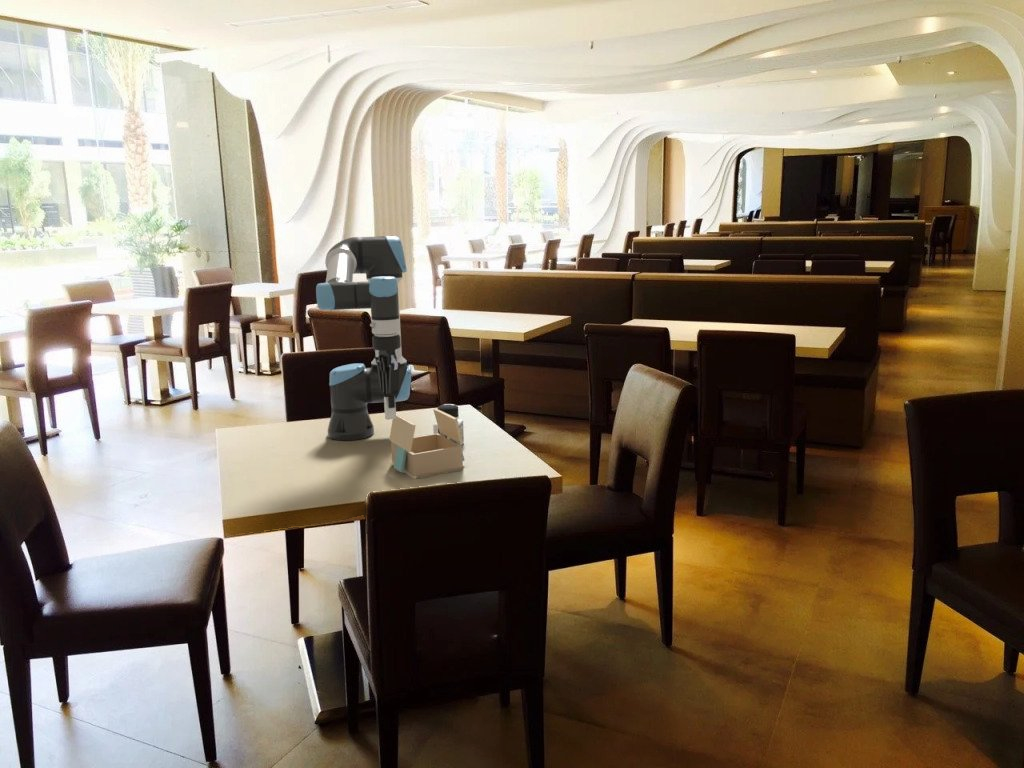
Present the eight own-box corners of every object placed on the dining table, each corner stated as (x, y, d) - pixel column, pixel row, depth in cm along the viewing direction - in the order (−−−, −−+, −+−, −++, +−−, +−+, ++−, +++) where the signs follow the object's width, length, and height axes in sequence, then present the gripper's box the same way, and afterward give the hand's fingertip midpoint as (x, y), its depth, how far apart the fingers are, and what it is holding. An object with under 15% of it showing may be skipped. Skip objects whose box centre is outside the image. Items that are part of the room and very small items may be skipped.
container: (457, 449, 253) (456, 408, 251) (433, 448, 255) (432, 408, 252) (464, 442, 261) (462, 402, 258) (440, 441, 262) (439, 402, 260)
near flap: (387, 461, 238) (385, 461, 238) (396, 414, 237) (393, 414, 237) (406, 474, 226) (404, 474, 226) (415, 425, 225) (412, 424, 224)
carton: (392, 463, 240) (390, 440, 239) (438, 455, 247) (437, 433, 246) (414, 479, 226) (412, 454, 225) (462, 469, 233) (462, 446, 232)
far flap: (433, 409, 243) (435, 408, 243) (445, 451, 247) (447, 450, 247) (454, 419, 230) (456, 418, 231) (466, 463, 235) (468, 462, 235)
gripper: (364, 332, 225) (369, 415, 230) (381, 338, 214) (386, 425, 219) (390, 329, 229) (394, 411, 234) (408, 336, 218) (412, 421, 223)
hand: (390, 418), depth 227 cm, fingers closed
